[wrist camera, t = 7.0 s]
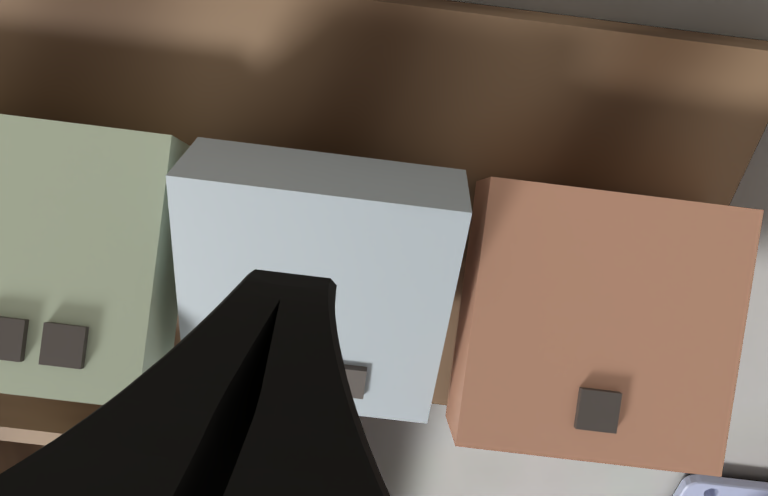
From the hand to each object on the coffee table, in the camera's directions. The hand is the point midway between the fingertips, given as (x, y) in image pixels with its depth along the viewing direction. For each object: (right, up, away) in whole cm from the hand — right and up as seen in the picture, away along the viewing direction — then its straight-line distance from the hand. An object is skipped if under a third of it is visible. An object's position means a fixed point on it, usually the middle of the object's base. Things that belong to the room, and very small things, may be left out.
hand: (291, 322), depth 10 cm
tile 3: (-6, +1, +5) cm, 8 cm away
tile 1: (+6, -1, +4) cm, 8 cm away
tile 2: (0, 0, +4) cm, 4 cm away
